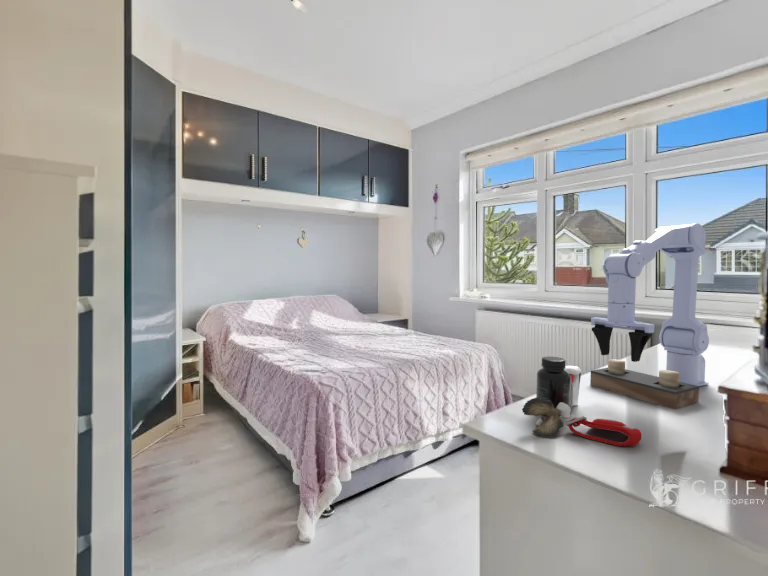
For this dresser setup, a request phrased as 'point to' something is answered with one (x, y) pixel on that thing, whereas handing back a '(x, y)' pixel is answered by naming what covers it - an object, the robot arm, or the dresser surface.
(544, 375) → the supplement bottle
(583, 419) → the tracker holder
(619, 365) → the peg
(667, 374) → the peg
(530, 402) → the eagle figurine
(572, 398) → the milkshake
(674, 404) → the block
